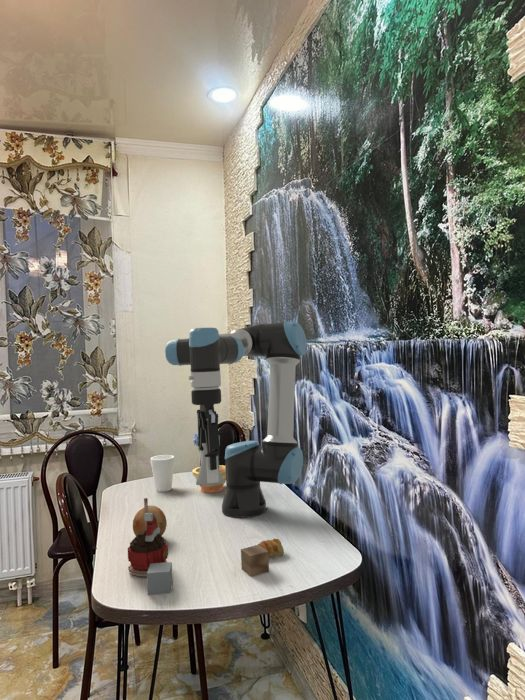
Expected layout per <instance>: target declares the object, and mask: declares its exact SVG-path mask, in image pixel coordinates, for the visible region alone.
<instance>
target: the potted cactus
mask: <svg viewBox="0 0 525 700" xmlns="http://www.w3.org/2000/svg"><path fill="white" fill-rule="evenodd" d="M192 439H193V440H192V442H193V445H194V446H196V447H197V449H198V451H199V453H200V451H202V450H200V449H199V446H198V430H197V431H196V432H195V434H194V435H193V437H192ZM220 441H221V436H220V435H219V446H221V442H220ZM219 458H220V456H219V455H218V468H219V470H220V473H221V475H222V478H223V482H222V483H220V484H218V485H209V486H203V485H199V487H200V492H202V493H218V492H221V491H222V490H224V487H223V486H224V485H225V484H226V467H225V465H223V464H222V465H220V459H219ZM200 467H201V466H198V467H195V468H194V469H192V475H193V477H194V478H195V480H196V481H197V477H198V474H199V471H200Z"/></svg>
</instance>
